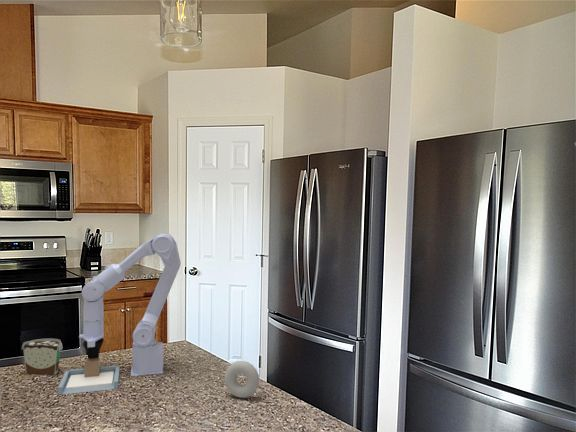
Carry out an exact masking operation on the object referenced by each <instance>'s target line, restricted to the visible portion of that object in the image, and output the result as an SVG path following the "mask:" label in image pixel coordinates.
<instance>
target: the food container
mask: <svg viewBox="0 0 576 432" xmlns="http://www.w3.org/2000/svg"><path fill="white" fill-rule="evenodd" d="M63 349H64V347H63V343H62V341H61V339H58V338H39V339H32V340H28V341H24V342H23V343H22V345H21V350H23V359H24V369H25V375H37V376H38V375H43V376H56V375H57V374H58V373H59V365H60V356H61V355H60V354H61V351H62V350H63Z"/></svg>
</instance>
